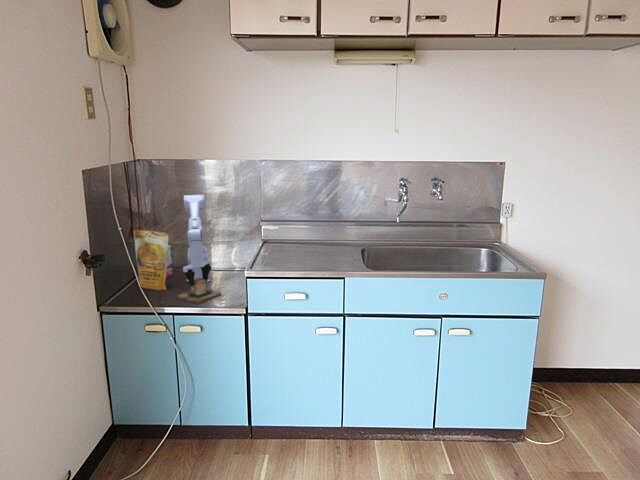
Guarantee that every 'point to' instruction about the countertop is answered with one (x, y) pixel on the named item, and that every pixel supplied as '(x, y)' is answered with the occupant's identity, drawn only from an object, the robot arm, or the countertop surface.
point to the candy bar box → (169, 264)
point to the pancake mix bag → (151, 258)
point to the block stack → (198, 286)
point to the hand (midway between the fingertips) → (198, 283)
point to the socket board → (199, 296)
